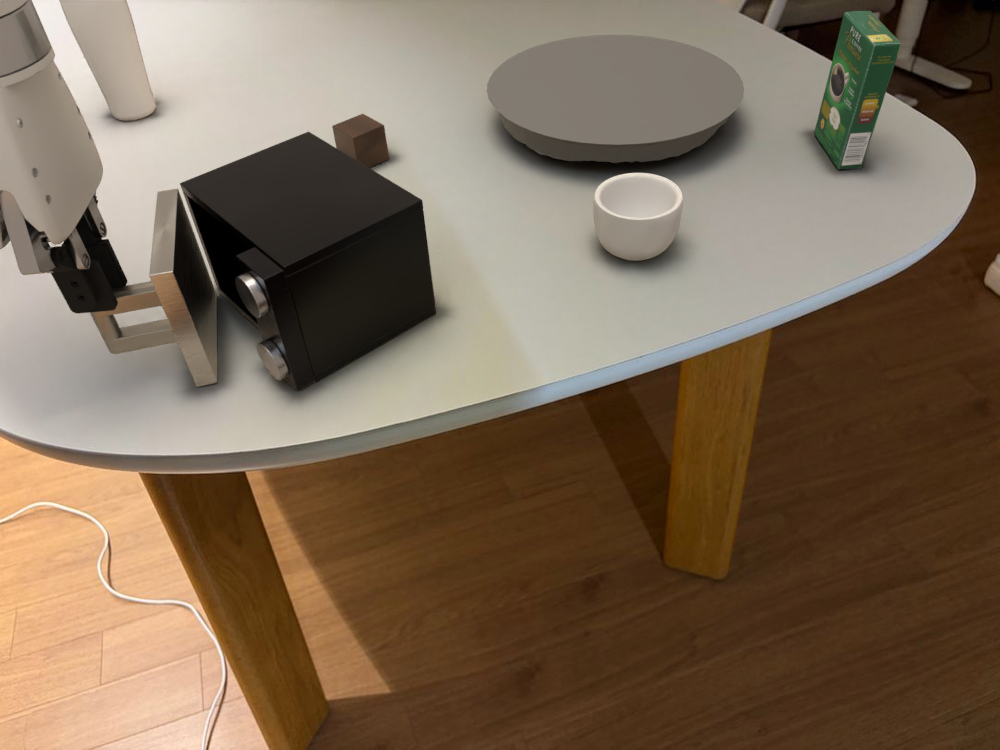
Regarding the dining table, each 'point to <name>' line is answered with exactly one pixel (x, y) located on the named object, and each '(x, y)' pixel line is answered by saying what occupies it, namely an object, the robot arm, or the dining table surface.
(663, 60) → the flat disc
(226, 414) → the dining table surface
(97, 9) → the white tapered cylinder
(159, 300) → the microwave door
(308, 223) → the microwave
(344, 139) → the block
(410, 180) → the dining table surface
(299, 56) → the dining table surface
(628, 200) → the teacup
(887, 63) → the coffee box
